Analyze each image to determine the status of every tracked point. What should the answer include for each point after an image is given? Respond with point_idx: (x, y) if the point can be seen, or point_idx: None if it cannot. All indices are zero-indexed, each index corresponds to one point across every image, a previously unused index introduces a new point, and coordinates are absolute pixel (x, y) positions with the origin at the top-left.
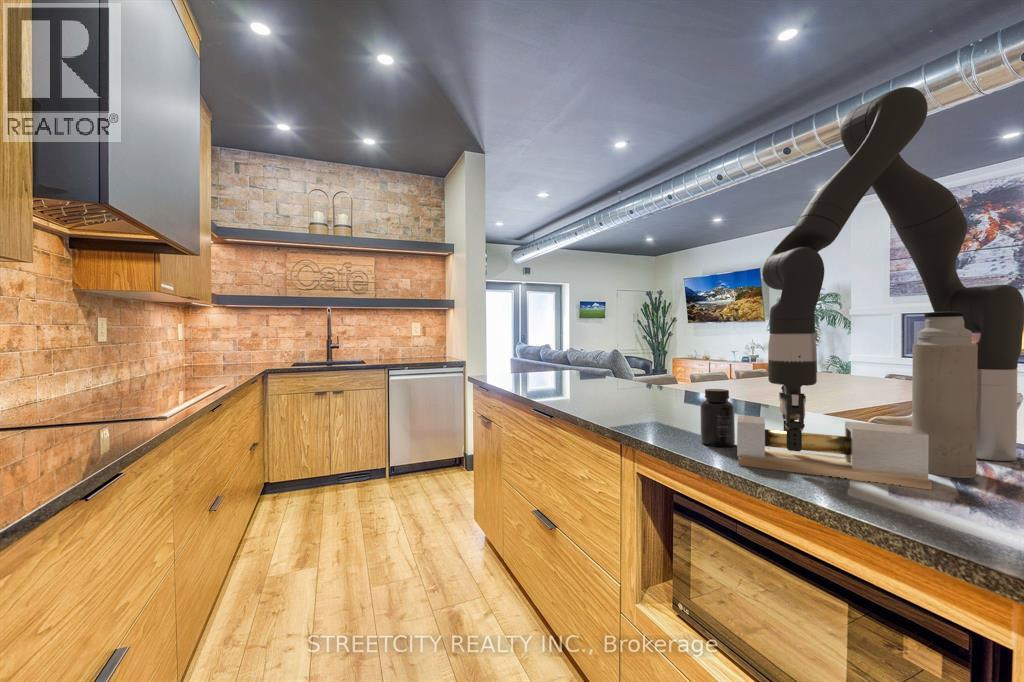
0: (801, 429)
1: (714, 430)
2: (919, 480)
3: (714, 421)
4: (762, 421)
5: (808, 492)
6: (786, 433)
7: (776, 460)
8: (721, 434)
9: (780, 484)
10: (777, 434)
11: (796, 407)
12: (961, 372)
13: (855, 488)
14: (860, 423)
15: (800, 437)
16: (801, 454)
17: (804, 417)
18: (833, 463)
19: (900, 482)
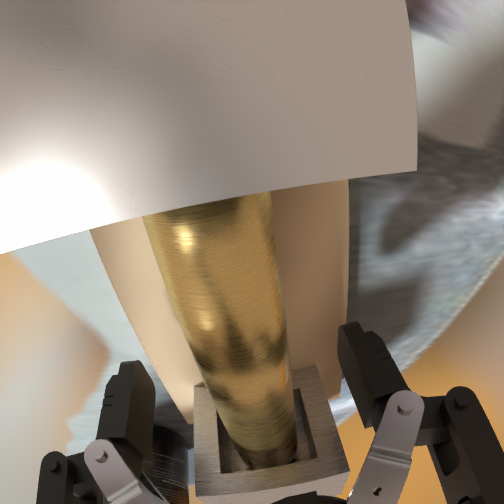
0: (415, 395)
1: (187, 479)
2: None
3: (187, 501)
4: (301, 485)
5: (488, 230)
6: (278, 414)
7: (310, 344)
8: (180, 465)
9: (454, 285)
10: (288, 423)
11: (468, 494)
12: None
13: (428, 117)
14: None
15: (381, 367)
16: (154, 302)
17: (389, 456)
18: None
19: None
